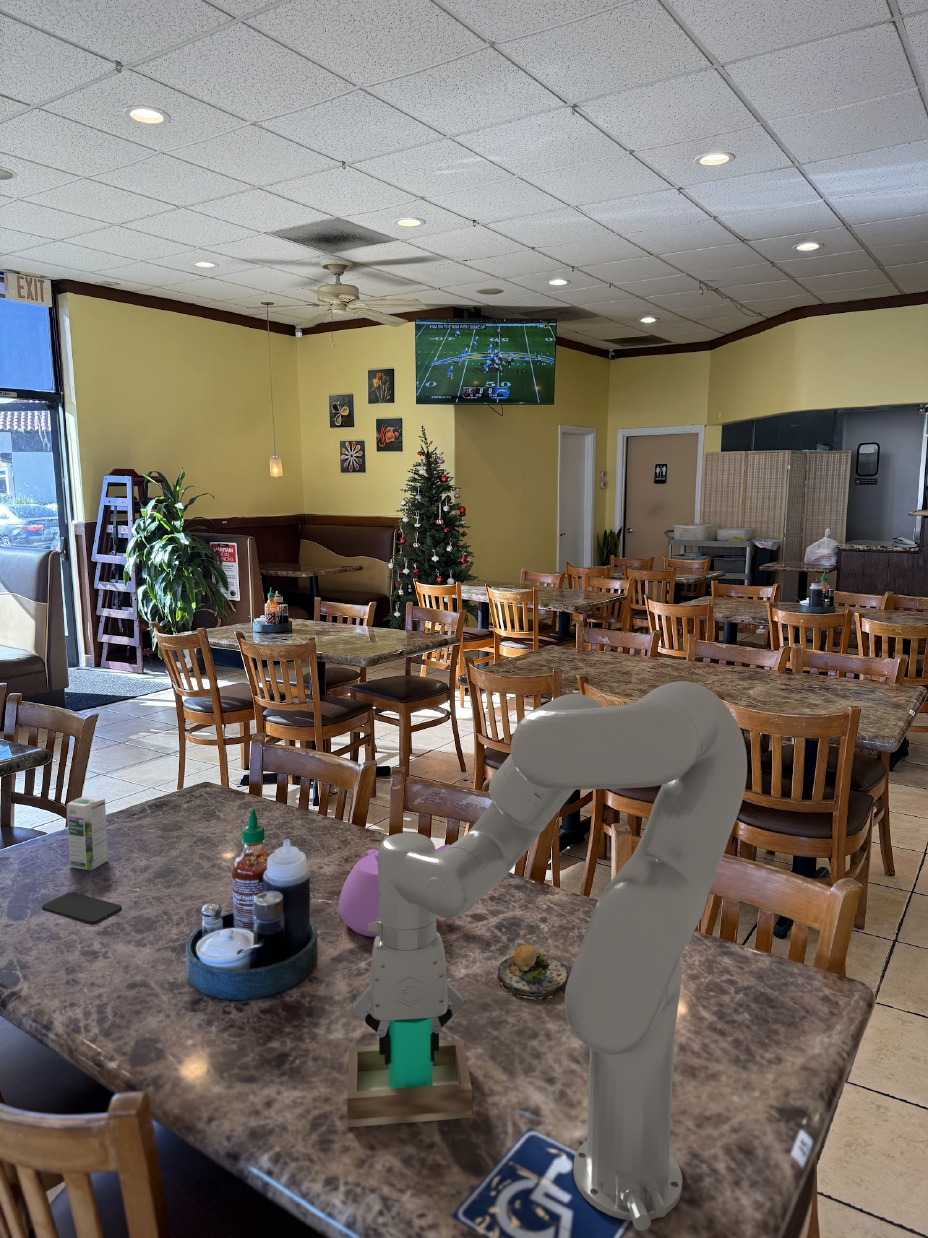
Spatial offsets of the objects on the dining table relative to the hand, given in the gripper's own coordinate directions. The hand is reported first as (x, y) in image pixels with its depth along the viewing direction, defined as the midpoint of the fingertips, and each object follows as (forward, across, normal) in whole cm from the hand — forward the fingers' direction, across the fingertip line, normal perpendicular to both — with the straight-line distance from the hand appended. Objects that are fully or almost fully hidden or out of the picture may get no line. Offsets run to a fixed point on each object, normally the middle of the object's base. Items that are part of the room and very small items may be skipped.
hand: (409, 1055), depth 114 cm
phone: (+6, -61, +60) cm, 86 cm away
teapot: (+6, 0, +49) cm, 49 cm away
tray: (+6, 0, 0) cm, 6 cm away
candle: (+4, 0, 0) cm, 4 cm away
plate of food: (+6, +22, +26) cm, 34 cm away
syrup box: (+5, -66, +81) cm, 104 cm away
